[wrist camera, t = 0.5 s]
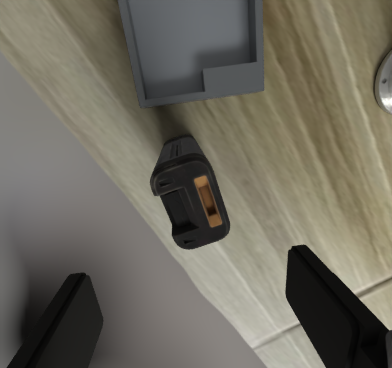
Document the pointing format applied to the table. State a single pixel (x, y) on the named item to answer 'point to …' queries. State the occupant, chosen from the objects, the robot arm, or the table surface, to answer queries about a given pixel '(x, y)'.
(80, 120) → the table surface
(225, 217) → the electronic device
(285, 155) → the table surface
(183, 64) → the keyhole dock
